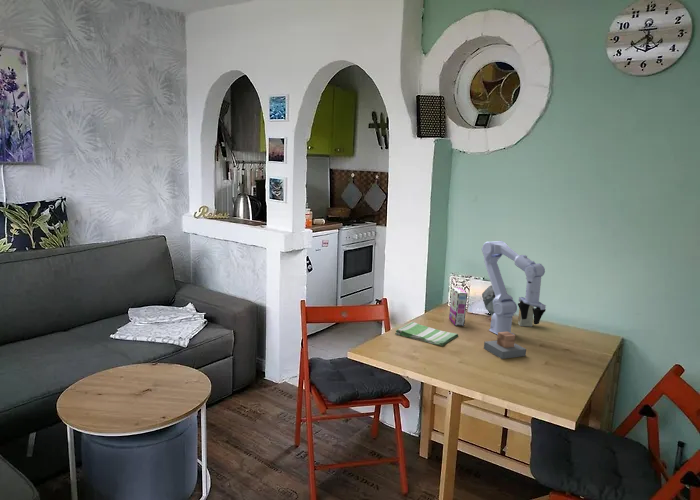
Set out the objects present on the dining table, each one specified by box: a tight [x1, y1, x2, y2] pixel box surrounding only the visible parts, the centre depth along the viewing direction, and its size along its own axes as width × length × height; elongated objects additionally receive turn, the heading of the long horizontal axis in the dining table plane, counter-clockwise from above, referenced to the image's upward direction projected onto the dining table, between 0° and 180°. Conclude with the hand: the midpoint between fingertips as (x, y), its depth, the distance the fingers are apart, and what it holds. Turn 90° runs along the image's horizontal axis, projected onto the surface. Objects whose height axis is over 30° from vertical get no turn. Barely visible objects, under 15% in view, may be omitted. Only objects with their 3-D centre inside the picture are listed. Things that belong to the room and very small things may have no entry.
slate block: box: [483, 339, 527, 360], centre depth 213 cm, size 12×12×3 cm
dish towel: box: [395, 321, 459, 347], centre depth 230 cm, size 18×23×3 cm
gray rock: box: [481, 284, 496, 321], centre depth 259 cm, size 14×15×18 cm
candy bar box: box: [448, 287, 468, 327], centre depth 249 cm, size 11×5×16 cm, turn 5°
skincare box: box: [517, 305, 535, 327], centre depth 251 cm, size 6×4×12 cm
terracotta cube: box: [496, 332, 516, 348], centre depth 212 cm, size 5×5×5 cm
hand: (530, 321), depth 223 cm, fingers open, 7 cm apart
